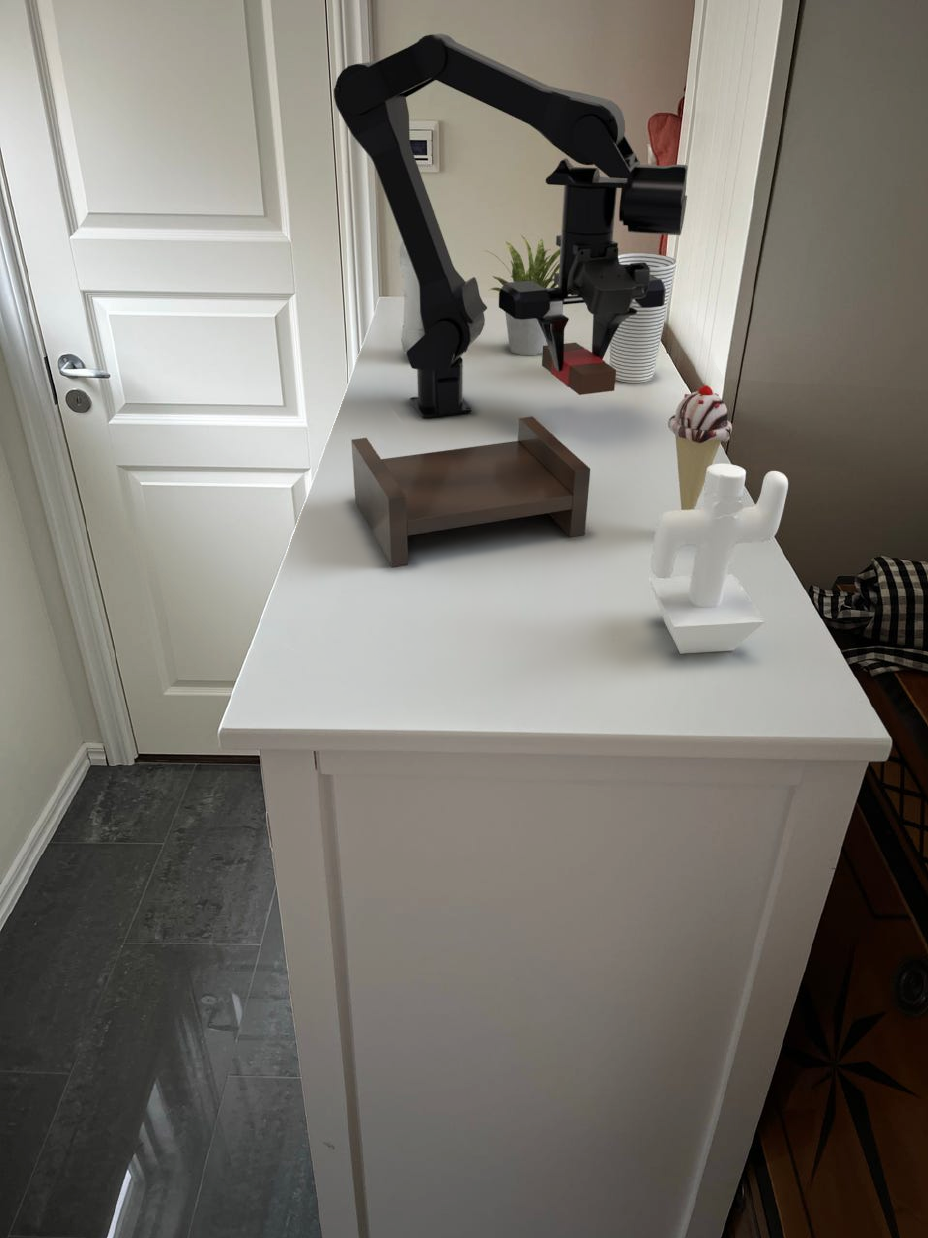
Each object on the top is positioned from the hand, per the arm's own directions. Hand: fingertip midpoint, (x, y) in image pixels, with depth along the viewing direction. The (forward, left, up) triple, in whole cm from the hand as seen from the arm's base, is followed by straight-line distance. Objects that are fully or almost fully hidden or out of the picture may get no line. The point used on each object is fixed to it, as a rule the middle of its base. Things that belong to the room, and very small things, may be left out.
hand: (577, 368), depth 111 cm
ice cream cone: (+30, -2, -7) cm, 31 cm away
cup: (-13, +15, -7) cm, 21 cm away
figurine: (+46, -10, -7) cm, 48 cm away
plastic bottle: (-30, -10, -7) cm, 33 cm away
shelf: (+20, -21, -7) cm, 30 cm away
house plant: (-28, +7, -7) cm, 30 cm away
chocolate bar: (0, 0, -1) cm, 1 cm away
